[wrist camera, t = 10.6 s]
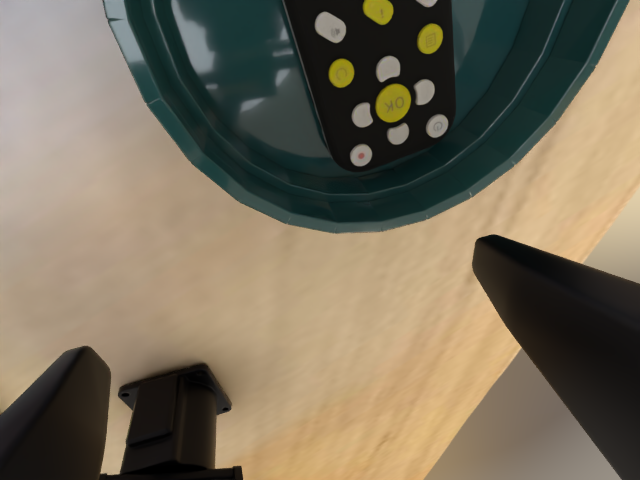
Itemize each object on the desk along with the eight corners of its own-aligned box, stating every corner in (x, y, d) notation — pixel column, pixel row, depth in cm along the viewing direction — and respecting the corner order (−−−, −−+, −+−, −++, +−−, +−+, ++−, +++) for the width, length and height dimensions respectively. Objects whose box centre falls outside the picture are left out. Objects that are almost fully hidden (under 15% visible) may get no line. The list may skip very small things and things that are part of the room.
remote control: (414, -284, 10) (449, -337, 8) (443, 127, 18) (464, 140, 16) (217, -205, 10) (214, -243, 8) (332, 170, 18) (342, 187, 16)
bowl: (510, 149, 20) (571, 182, 16) (224, 221, 19) (223, 274, 15) (621, -421, 10) (851, -667, 6) (-5, -345, 8) (-179, -599, 5)
